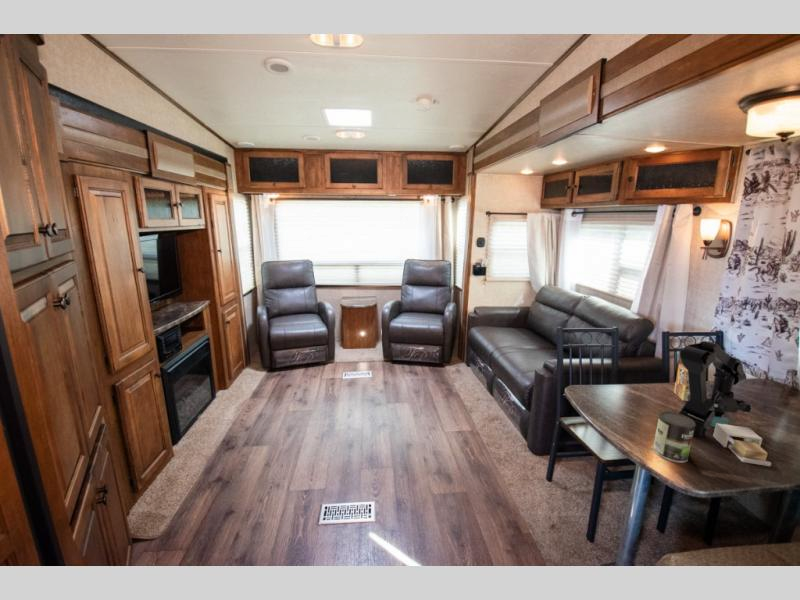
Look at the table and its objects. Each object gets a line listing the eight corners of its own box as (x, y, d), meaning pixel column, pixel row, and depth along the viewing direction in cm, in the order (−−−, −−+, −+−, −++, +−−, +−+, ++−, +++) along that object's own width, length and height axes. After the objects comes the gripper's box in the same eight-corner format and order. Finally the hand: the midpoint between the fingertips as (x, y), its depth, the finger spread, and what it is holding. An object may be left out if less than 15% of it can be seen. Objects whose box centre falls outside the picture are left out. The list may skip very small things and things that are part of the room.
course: (738, 465, 118) (742, 447, 116) (700, 426, 140) (704, 412, 139) (775, 471, 115) (780, 453, 114) (731, 431, 137) (734, 416, 136)
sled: (742, 463, 118) (745, 451, 117) (704, 425, 140) (707, 415, 139) (769, 468, 116) (773, 455, 115) (727, 429, 138) (729, 418, 137)
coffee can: (694, 458, 121) (702, 423, 118) (677, 466, 117) (684, 429, 114) (663, 441, 131) (669, 408, 127) (646, 448, 127) (652, 414, 123)
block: (743, 460, 119) (745, 450, 118) (732, 449, 124) (734, 439, 123) (764, 463, 117) (767, 453, 116) (753, 452, 122) (755, 442, 122)
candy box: (692, 402, 160) (699, 371, 157) (682, 400, 161) (688, 370, 158) (682, 393, 168) (688, 364, 165) (672, 392, 169) (678, 363, 166)
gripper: (705, 392, 131) (697, 428, 135) (766, 399, 126) (756, 436, 130) (690, 380, 142) (683, 413, 145) (745, 386, 137) (737, 420, 140)
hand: (714, 421), depth 140 cm, fingers closed
